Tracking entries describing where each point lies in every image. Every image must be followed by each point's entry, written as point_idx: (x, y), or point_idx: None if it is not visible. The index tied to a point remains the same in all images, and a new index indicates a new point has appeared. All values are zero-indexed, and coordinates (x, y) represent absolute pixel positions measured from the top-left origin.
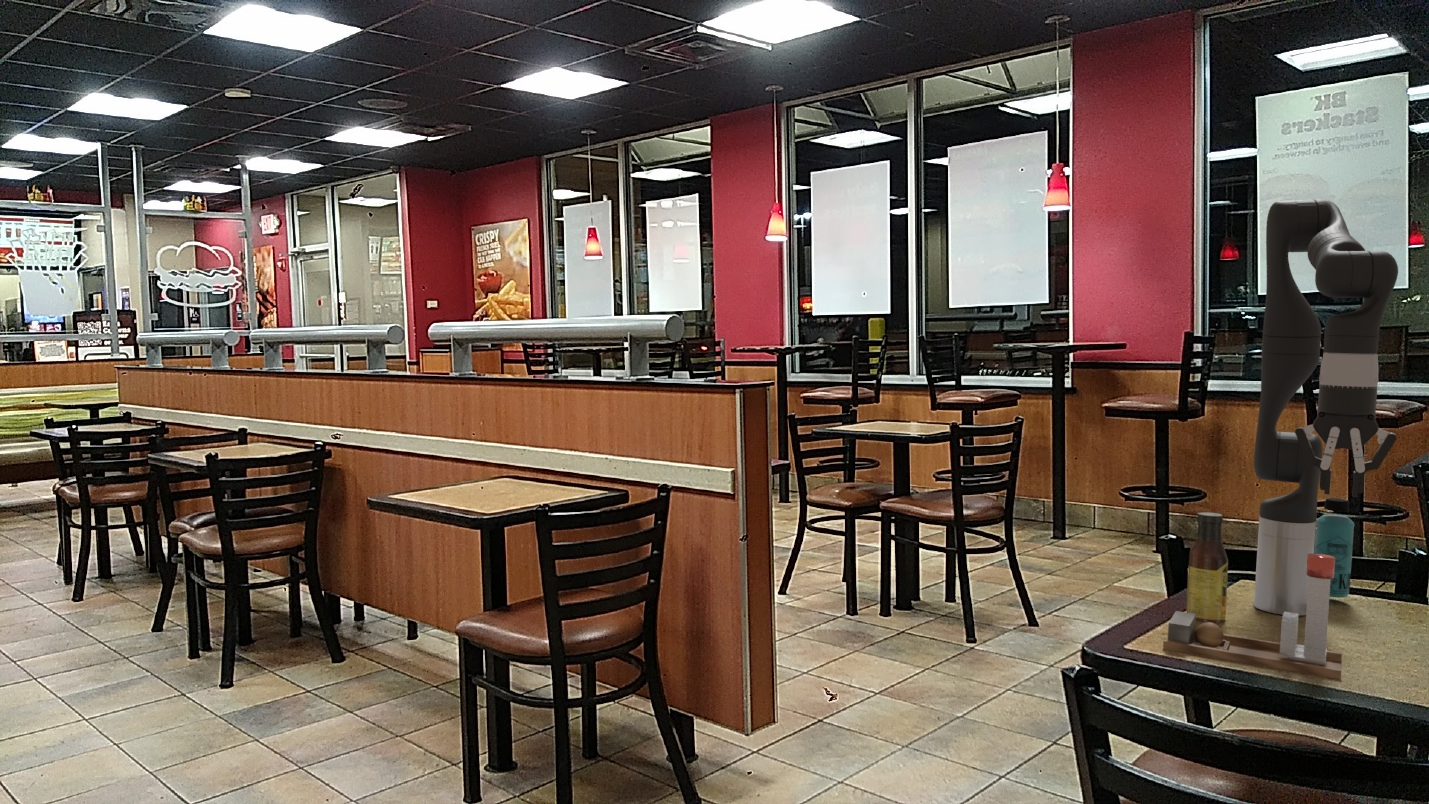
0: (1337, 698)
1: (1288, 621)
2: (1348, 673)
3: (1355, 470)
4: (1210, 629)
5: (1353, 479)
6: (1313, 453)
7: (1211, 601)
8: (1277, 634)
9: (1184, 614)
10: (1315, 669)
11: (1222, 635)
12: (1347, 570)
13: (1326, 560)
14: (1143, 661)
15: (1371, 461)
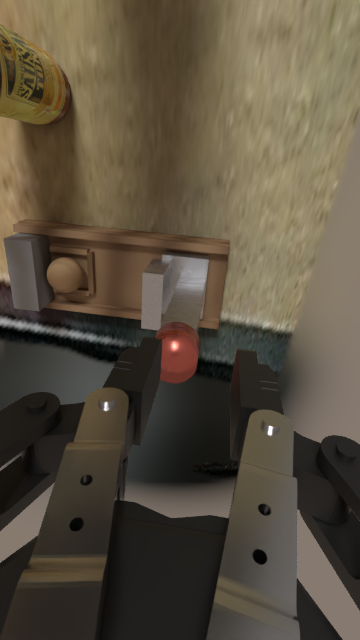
0: (212, 349)
1: (149, 326)
2: (237, 251)
3: (238, 459)
4: (63, 291)
5: (230, 437)
6: (28, 493)
7: (30, 118)
8: (152, 76)
9: (18, 253)
10: None
11: (80, 282)
12: None
13: (180, 380)
14: (22, 319)
15: (318, 505)
